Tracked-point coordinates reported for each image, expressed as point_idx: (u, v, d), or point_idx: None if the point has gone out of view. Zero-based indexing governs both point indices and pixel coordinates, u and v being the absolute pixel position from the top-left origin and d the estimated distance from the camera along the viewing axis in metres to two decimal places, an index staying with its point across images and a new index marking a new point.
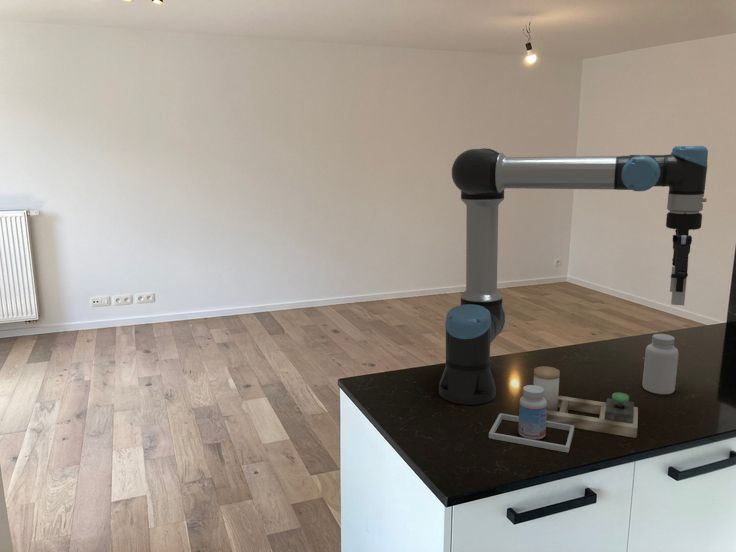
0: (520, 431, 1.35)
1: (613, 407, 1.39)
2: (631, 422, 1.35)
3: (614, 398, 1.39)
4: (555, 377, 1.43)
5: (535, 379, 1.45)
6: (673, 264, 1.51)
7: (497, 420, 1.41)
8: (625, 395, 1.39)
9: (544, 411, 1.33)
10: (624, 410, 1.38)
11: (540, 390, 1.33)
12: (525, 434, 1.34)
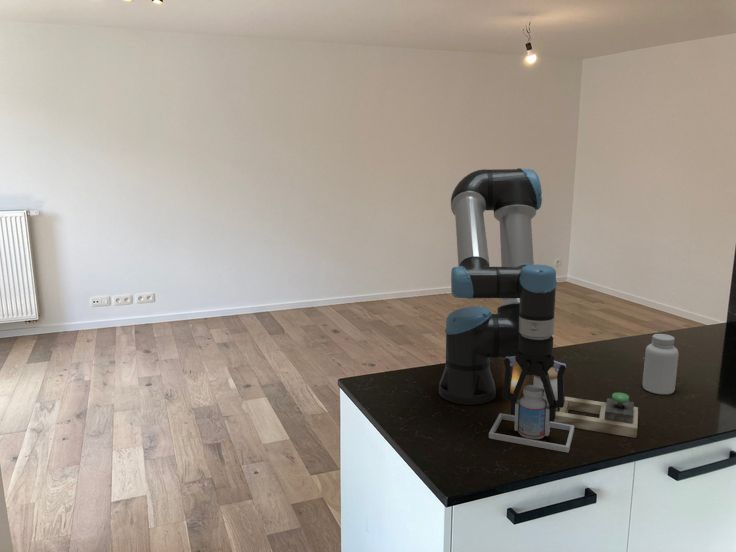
0: (520, 431, 1.35)
1: (613, 407, 1.39)
2: (631, 422, 1.35)
3: (614, 398, 1.39)
4: (555, 377, 1.43)
5: (535, 379, 1.45)
6: None
7: (497, 420, 1.41)
8: (625, 395, 1.39)
9: (544, 411, 1.33)
10: (624, 410, 1.38)
11: (540, 390, 1.33)
12: (525, 433, 1.34)
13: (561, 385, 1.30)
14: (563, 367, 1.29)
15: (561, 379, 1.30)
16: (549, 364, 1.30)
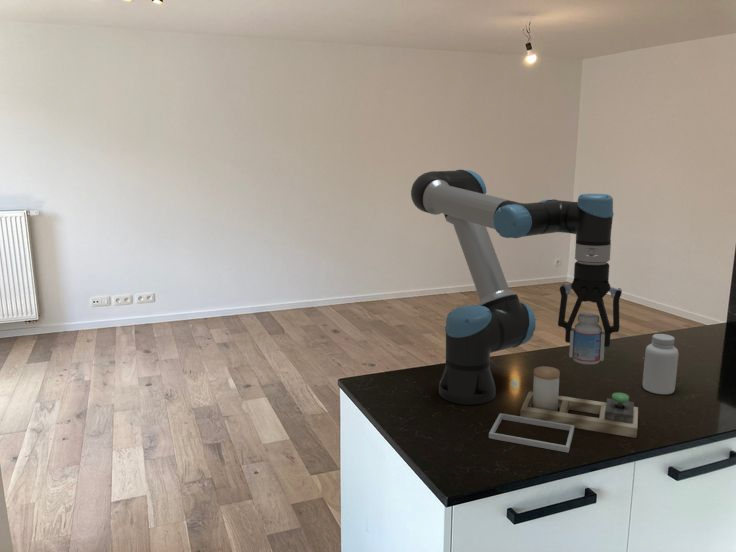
0: (575, 357, 1.40)
1: (613, 407, 1.39)
2: (631, 422, 1.35)
3: (614, 398, 1.39)
4: (555, 377, 1.43)
5: (535, 379, 1.45)
6: None
7: (497, 420, 1.41)
8: (625, 395, 1.39)
9: (600, 337, 1.37)
10: (624, 410, 1.38)
11: (595, 316, 1.37)
12: (581, 359, 1.38)
13: (616, 309, 1.34)
14: (619, 292, 1.33)
15: (617, 304, 1.34)
16: (605, 289, 1.35)
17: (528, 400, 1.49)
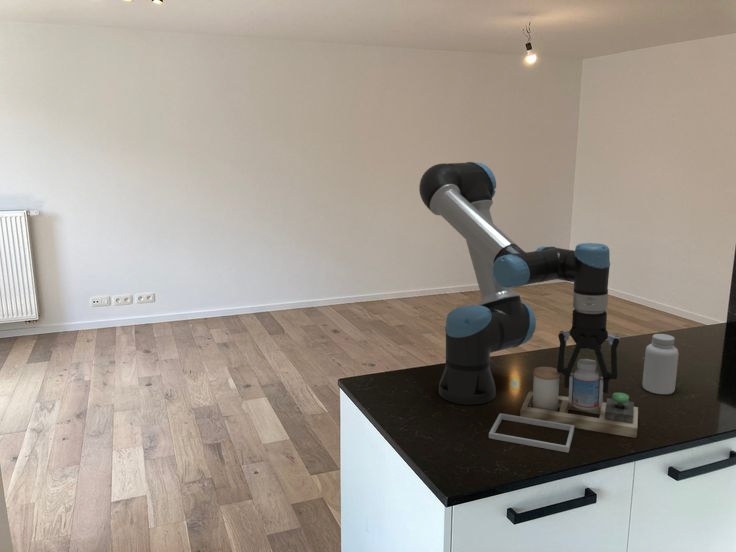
0: (574, 403, 1.42)
1: (613, 407, 1.39)
2: (631, 422, 1.35)
3: (614, 398, 1.39)
4: (555, 377, 1.43)
5: (535, 379, 1.45)
6: None
7: (497, 420, 1.41)
8: (625, 395, 1.39)
9: (598, 383, 1.39)
10: (624, 410, 1.38)
11: (593, 363, 1.40)
12: (580, 405, 1.40)
13: (614, 357, 1.37)
14: (617, 340, 1.36)
15: (615, 351, 1.36)
16: (603, 337, 1.37)
17: (528, 400, 1.49)
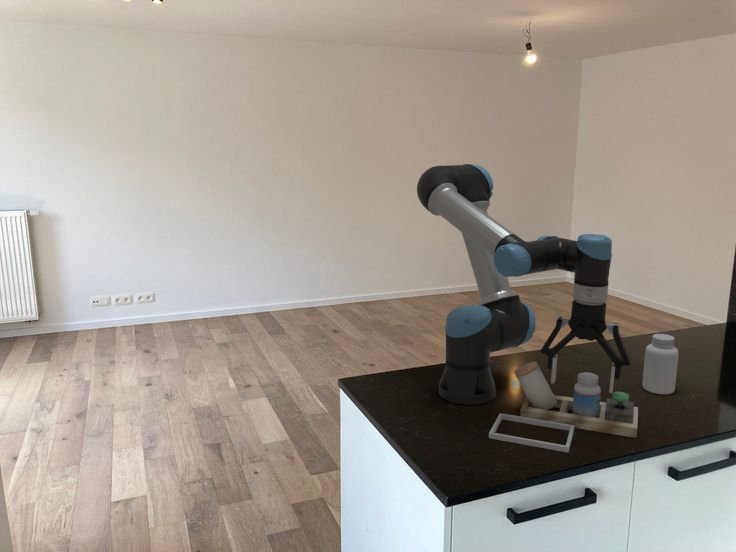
0: None
1: (613, 407, 1.39)
2: (631, 422, 1.35)
3: (614, 397, 1.39)
4: (534, 368, 1.45)
5: (519, 380, 1.47)
6: None
7: (497, 420, 1.41)
8: (625, 394, 1.39)
9: (599, 397, 1.40)
10: (624, 410, 1.38)
11: (594, 377, 1.40)
12: None
13: (620, 344, 1.36)
14: (616, 327, 1.35)
15: (618, 339, 1.36)
16: (601, 329, 1.37)
17: (528, 400, 1.49)
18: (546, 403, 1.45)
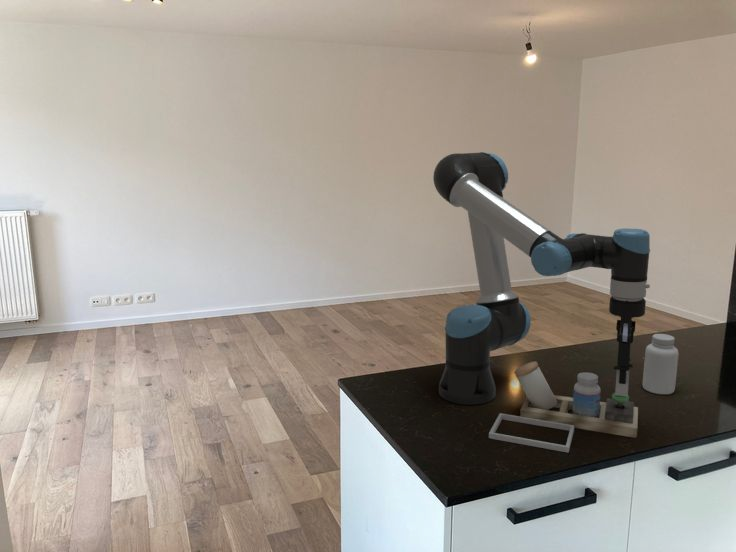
0: None
1: (613, 407, 1.39)
2: (631, 422, 1.35)
3: (614, 398, 1.39)
4: (534, 368, 1.45)
5: (519, 380, 1.47)
6: None
7: (497, 420, 1.41)
8: None
9: (599, 397, 1.40)
10: (624, 410, 1.38)
11: (594, 377, 1.40)
12: None
13: None
14: None
15: None
16: None
17: (528, 400, 1.49)
18: (546, 403, 1.45)
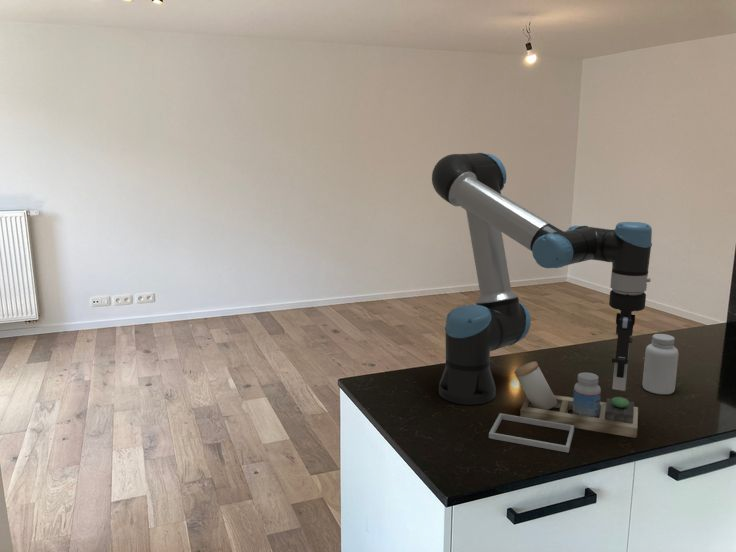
0: None
1: (613, 407, 1.39)
2: (631, 422, 1.35)
3: (614, 403, 1.39)
4: (534, 368, 1.45)
5: (519, 380, 1.47)
6: None
7: (497, 420, 1.41)
8: (625, 400, 1.39)
9: (599, 397, 1.40)
10: (624, 410, 1.38)
11: (594, 377, 1.40)
12: None
13: None
14: None
15: None
16: None
17: (528, 400, 1.49)
18: (546, 403, 1.45)
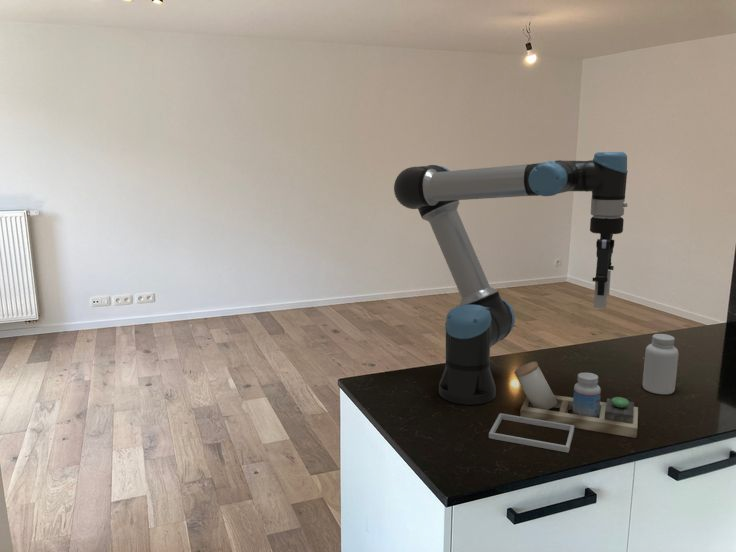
0: None
1: (613, 407, 1.39)
2: (631, 422, 1.35)
3: (614, 403, 1.39)
4: (534, 368, 1.45)
5: (519, 380, 1.47)
6: None
7: (497, 420, 1.41)
8: (625, 400, 1.39)
9: (599, 397, 1.40)
10: (624, 410, 1.38)
11: (594, 377, 1.40)
12: None
13: None
14: (612, 234, 1.50)
15: None
16: None
17: (528, 400, 1.49)
18: (546, 403, 1.45)
